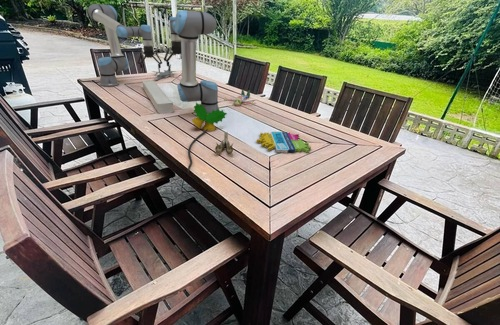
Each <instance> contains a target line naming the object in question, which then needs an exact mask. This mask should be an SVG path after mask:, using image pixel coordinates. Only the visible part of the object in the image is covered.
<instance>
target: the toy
mask: <svg viewBox="0 0 500 325" xmlns="http://www.w3.org/2000/svg"><path fill="white" fill-rule="evenodd" d="M240 92H241V93H240V95H238V96H237V97H235V99H233V98H230V99H228V98H227V97H226V96H225V97H224V98H223V101H224V102H233V103H232V104H233V105H235V106H242V103H243V104H247V105H252V106H255V105H256V104H257V103H256V102H254V101H253V100H252V101H251V102H250V101H248V100H246V99H248V98H250V97H251V90H250V89H249V90H248V91H247V92H246V93H245V91H244V89H242V90H241V91H240Z"/></svg>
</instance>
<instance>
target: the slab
mask: <svg viewBox="0 0 500 325" xmlns="http://www.w3.org/2000/svg"><path fill="white" fill-rule="evenodd" d="M141 82H142V89H143V91H144V92H145V94H146V96H147V97H148V98H149V100H150V102H151V103H152V105H153V107H154V109H155V110H156V112H157V113H158V114H168V113H170V114H171V113H174V103H173V101H172V100H171V99H170V97H168V95H167V94H166V93H165V92H164V90H163V89H162V88H161V87H160V86H159V84H158V83H157V82H156V80H154V79H153V80H142V81H141Z"/></svg>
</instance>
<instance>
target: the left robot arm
mask: <svg viewBox="0 0 500 325" xmlns="http://www.w3.org/2000/svg"><path fill="white" fill-rule="evenodd" d="M87 14H88V16H89V17H90V18H91V19H92V20H93V21H95V22H97V23H101V25H103V26H104V31H105V35H106V38H107V41H108V45H109V49H110V56H102V57H99V58H98V59H97V65H98V69H99V74H100V81H96V80H81V79H80V78H78V80H77V81H78V82H79V81H80V82H82V83H86V82H87V83H89V82H90V83H91V82H92V83H96V84H98V83H99V85H100V86H101V87H115V86H119V83H120V82H119V81H118V78H117V77H116V75H115V74H116V72H117V73H118V72H124V71H127V70H129V67H130V64H129V60H128V58H127V57H125V55H124V54H123V53H122V49H121V45H120V41H119V38H123V39H124V38H142V40H141V41H142V46H143V51H139V56H138V59H137V64H139V67H140V69H141V72H142V73H144V67H143V63H144V61H145V60H146V59H147V58H148V59H149V58H151V59H152V58H153V59H154V61H156V63H157V67H158V68H157V69H158V72H161V68H162V66H161V65H163V61H162V60H161V58H160V56H159V54H158V52H157V51H155V52H154V44H153V37H152V36H153V35H152V28H151V25H149V24H141V25H140V26H135V25H134V26H125V25H123V24H122V23H120V22H118V21H117V19H118V13H117V10H116V9H115V8H114V6H112V5H111V4H100V3H92V4H90V5H89V6H88V8H87ZM143 55H144V56H143ZM142 56H143V58H142ZM155 56H156V57H157V58H156V57H155Z"/></svg>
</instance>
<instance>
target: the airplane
mask: <svg viewBox="0 0 500 325" xmlns="http://www.w3.org/2000/svg"><path fill="white" fill-rule="evenodd" d="M169 66H170V71H169V68H168V67H167V68H168V69H167V70H166V69H163V71H160V72H159V71H154V70H152V71H151V72H152V73H154V75H155V78H154V79H153V80H154V81H159V80H160V79H166V78H169V77H170V76H172V77H175V75H176V73H177V71H175V70H171V67H172V64H171V63H169ZM156 75H157V76H156Z"/></svg>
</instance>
